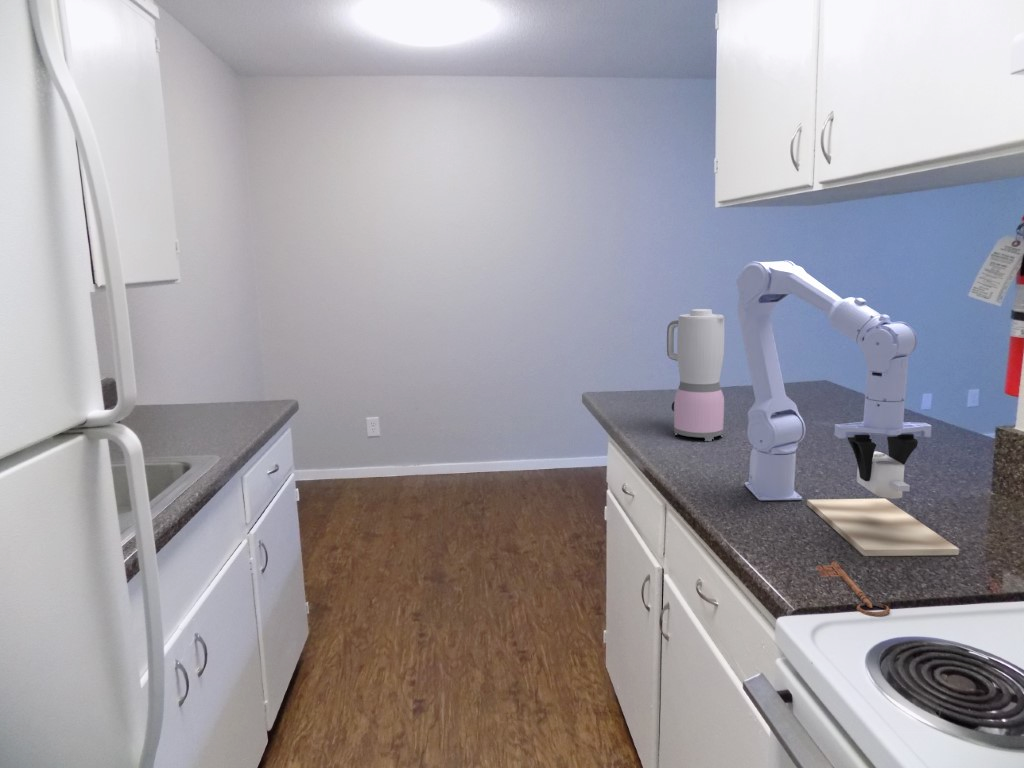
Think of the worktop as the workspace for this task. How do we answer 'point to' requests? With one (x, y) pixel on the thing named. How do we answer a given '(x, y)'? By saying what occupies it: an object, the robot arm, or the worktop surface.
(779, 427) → the robot arm
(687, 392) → the blender
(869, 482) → the plug
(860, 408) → the worktop surface
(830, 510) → the pad
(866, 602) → the key
